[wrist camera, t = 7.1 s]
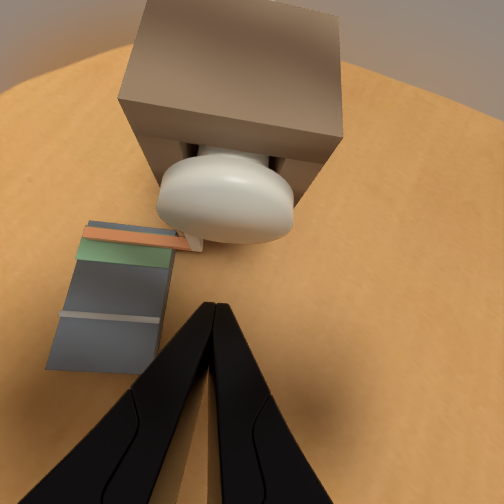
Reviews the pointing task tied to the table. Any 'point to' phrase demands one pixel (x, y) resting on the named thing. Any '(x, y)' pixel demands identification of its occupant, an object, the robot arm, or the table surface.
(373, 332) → the table surface
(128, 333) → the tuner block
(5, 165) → the table surface
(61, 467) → the robot arm
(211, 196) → the peg
